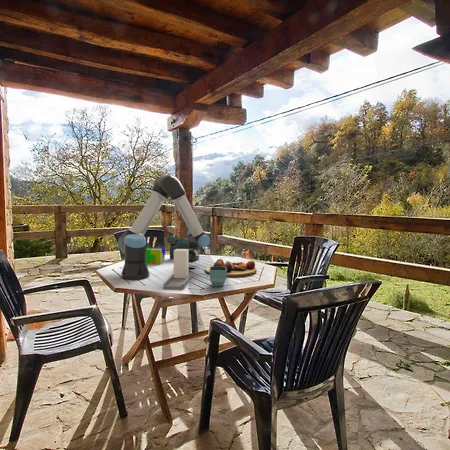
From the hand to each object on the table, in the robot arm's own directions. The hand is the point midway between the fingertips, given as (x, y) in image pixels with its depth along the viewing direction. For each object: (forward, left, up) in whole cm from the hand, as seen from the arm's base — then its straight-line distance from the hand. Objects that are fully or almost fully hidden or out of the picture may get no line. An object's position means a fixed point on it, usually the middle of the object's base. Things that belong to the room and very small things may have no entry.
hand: (183, 263), depth 178 cm
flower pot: (+20, -13, -9) cm, 26 cm away
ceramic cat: (-13, +55, -9) cm, 57 cm away
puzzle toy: (-28, +39, -9) cm, 49 cm away
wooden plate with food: (+26, +20, -9) cm, 34 cm away
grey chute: (-1, -11, -8) cm, 14 cm away
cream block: (-1, -5, -7) cm, 8 cm away
